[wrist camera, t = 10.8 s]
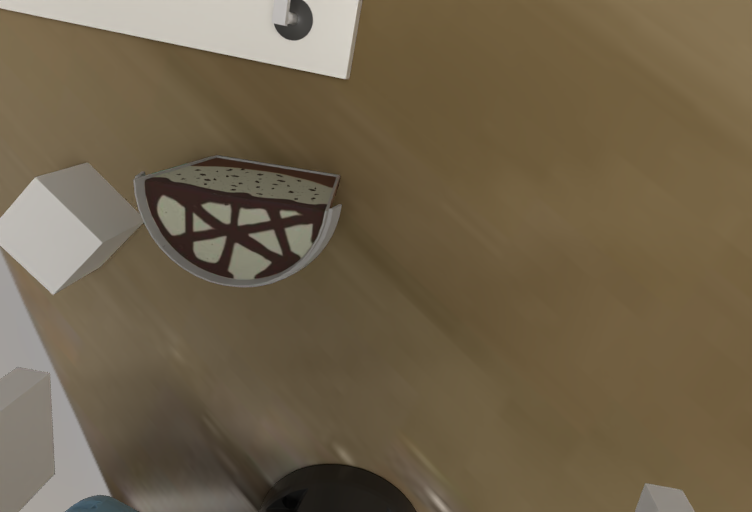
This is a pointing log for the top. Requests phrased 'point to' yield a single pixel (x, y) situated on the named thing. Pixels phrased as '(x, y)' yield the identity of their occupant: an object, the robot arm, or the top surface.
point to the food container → (239, 218)
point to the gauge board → (226, 26)
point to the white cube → (66, 225)
